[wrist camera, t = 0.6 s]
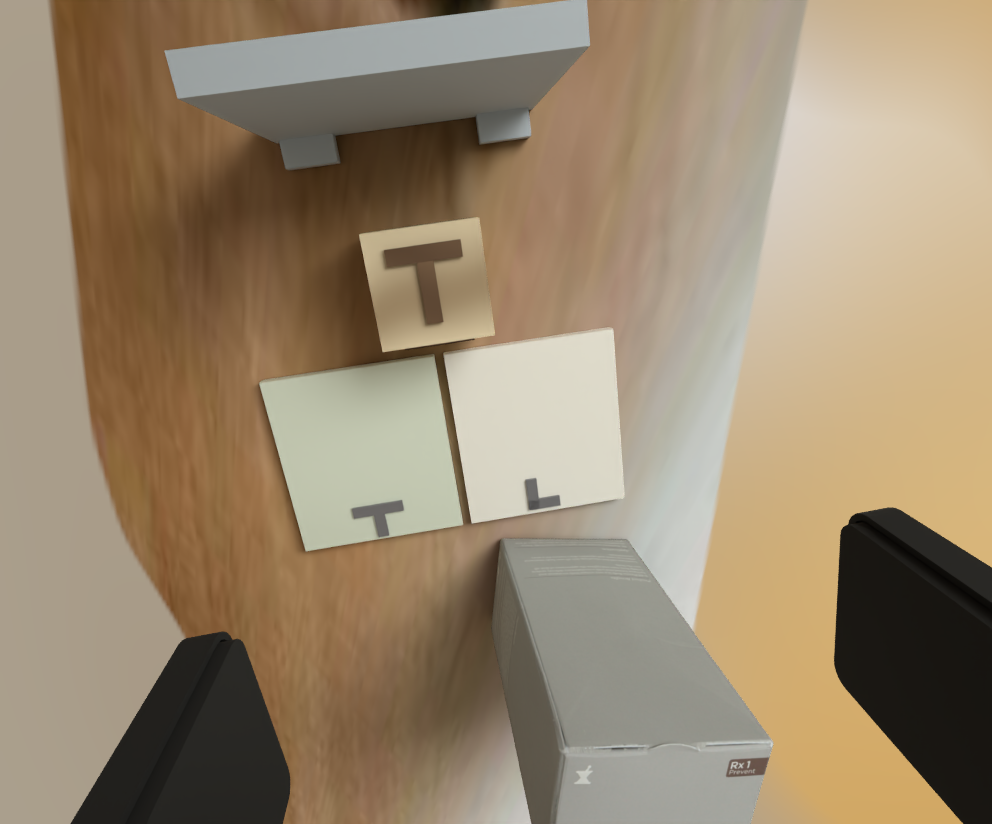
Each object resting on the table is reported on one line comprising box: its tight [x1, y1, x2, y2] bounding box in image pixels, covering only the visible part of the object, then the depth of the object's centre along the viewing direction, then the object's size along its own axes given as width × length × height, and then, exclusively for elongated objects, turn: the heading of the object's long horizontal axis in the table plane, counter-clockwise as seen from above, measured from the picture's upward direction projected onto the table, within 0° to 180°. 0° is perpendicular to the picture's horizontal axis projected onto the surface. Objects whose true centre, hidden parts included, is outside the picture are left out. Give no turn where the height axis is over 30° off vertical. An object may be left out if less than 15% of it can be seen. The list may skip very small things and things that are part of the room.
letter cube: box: [359, 217, 495, 352], centre depth 27 cm, size 5×5×5 cm
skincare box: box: [491, 539, 773, 824], centre depth 29 cm, size 8×7×16 cm
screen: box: [165, 0, 590, 170], centre depth 22 cm, size 4×12×11 cm, turn 98°
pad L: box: [443, 327, 625, 523], centre depth 32 cm, size 10×9×1 cm
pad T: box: [259, 354, 463, 551], centre depth 32 cm, size 10×9×1 cm
